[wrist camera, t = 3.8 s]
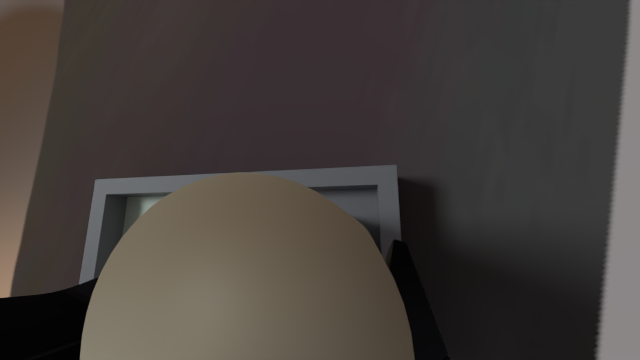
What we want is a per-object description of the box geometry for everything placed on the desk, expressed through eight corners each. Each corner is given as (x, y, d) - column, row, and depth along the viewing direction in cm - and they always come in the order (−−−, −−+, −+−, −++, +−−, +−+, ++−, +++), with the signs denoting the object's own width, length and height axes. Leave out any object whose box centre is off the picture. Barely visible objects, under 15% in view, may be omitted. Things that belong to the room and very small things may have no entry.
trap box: (400, 330, 15) (408, 355, 12) (119, 313, 18) (71, 329, 15) (391, 176, 16) (396, 164, 13) (135, 186, 19) (95, 179, 17)
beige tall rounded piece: (376, 289, 14) (432, 626, 2) (305, 286, 14) (53, 529, 3) (373, 214, 14) (401, 165, 3) (305, 215, 15) (105, 178, 4)
